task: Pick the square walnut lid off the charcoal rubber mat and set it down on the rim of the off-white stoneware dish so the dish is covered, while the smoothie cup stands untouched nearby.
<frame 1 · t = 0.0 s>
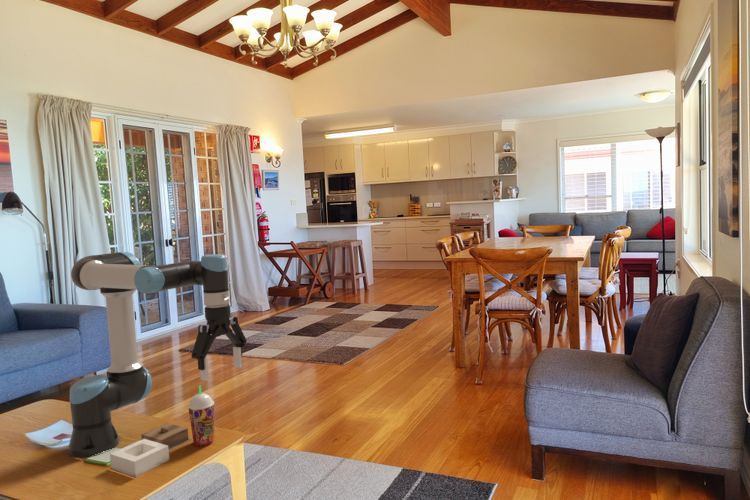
hand: (222, 373, 171), 28 cm above the table, fingers open, 13 cm apart
smoothie: (204, 444, 188), on the table
dish: (140, 465, 174), on the table
mat: (165, 443, 189), on the table
lid: (165, 442, 189), resting on mat
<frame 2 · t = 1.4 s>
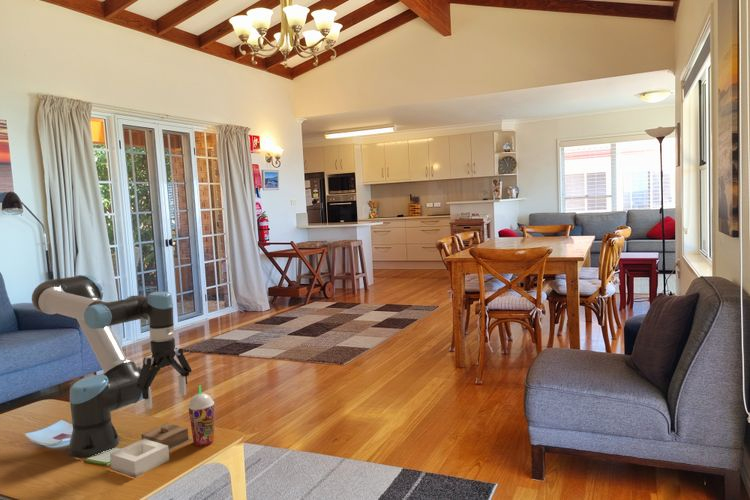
hand: (166, 401, 187), 15 cm above the table, fingers open, 13 cm apart
nothing on the table moved.
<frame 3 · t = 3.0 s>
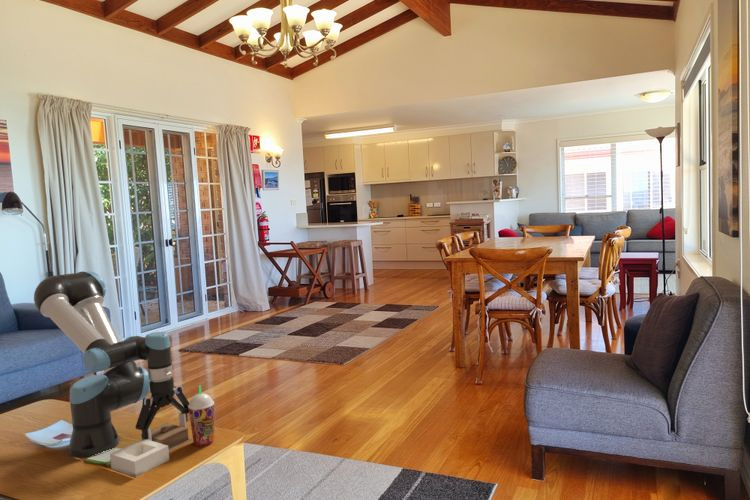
hand: (166, 440, 189), 1 cm above the table, fingers open, 13 cm apart
nothing on the table moved.
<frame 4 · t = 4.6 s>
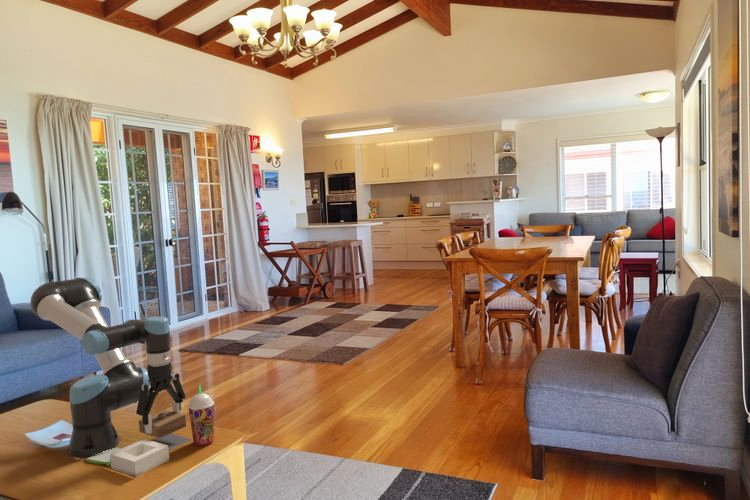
hand: (163, 426, 189), 6 cm above the table, fingers closed on lid, 10 cm apart
lid: (163, 429, 189), point 5 cm above the table, touching gripper
everything else where it was.
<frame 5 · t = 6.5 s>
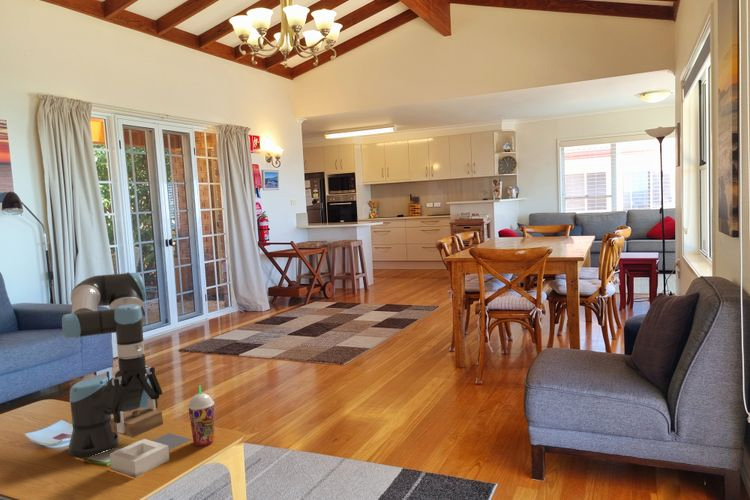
hand: (137, 425, 173), 13 cm above the table, fingers closed on lid, 10 cm apart
lid: (137, 427, 173), point 12 cm above the table, touching gripper
everything else where it was.
when the fingers open (6 cm above the table, at t = 8.2 s): lid stays where it is, resting on dish.
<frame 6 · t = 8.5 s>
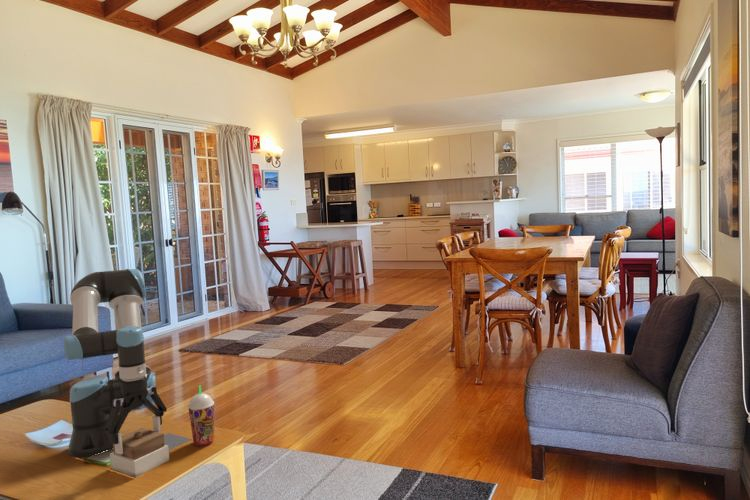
hand: (139, 444, 173), 7 cm above the table, fingers open, 13 cm apart
lid: (139, 449, 173), point 5 cm above the table, touching dish
everything else where it was.
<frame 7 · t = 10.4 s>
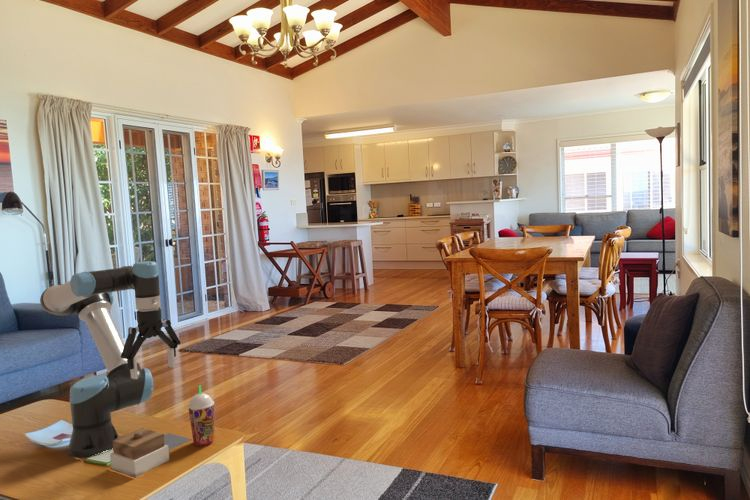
hand: (153, 372, 184), 26 cm above the table, fingers open, 13 cm apart
nothing on the table moved.
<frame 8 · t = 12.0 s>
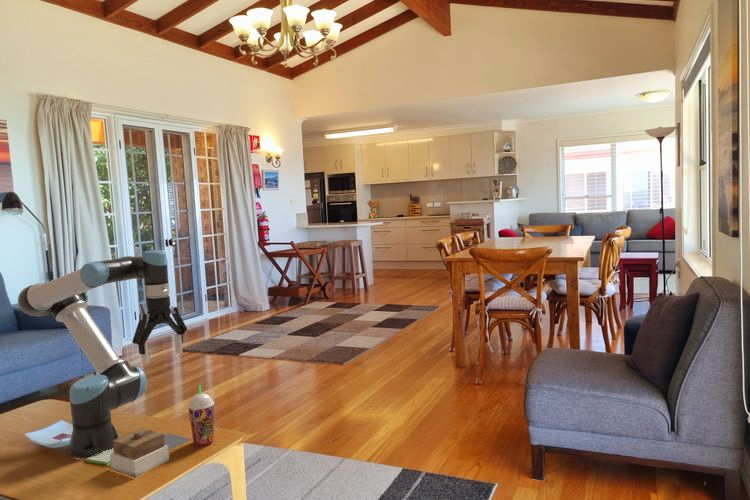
hand: (162, 358, 190), 29 cm above the table, fingers open, 13 cm apart
nothing on the table moved.
at the end: lid 0.1 cm off-centre on the dish, point 5.0 cm above the dish's base; lid tilted 0°; the gripper is holding nothing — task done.
